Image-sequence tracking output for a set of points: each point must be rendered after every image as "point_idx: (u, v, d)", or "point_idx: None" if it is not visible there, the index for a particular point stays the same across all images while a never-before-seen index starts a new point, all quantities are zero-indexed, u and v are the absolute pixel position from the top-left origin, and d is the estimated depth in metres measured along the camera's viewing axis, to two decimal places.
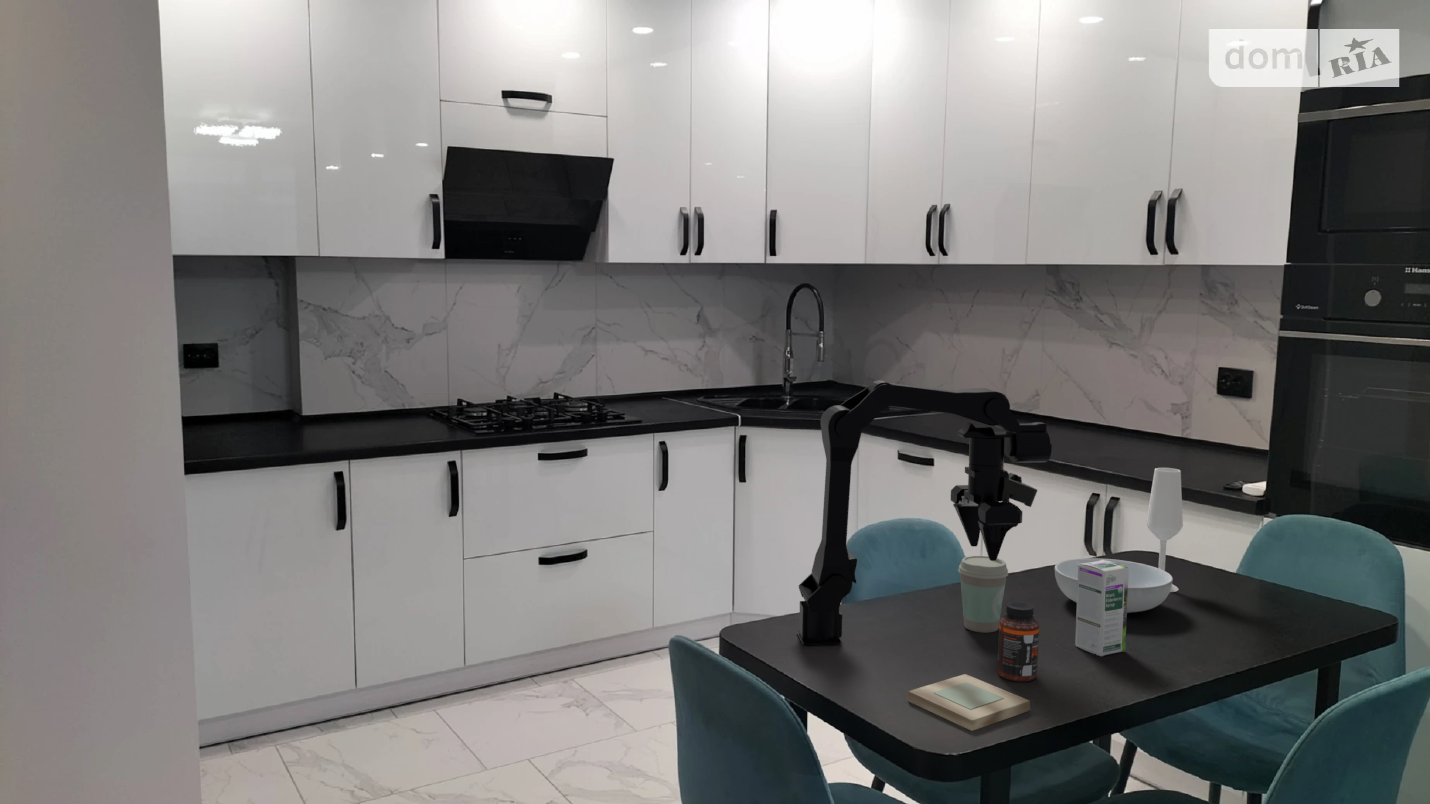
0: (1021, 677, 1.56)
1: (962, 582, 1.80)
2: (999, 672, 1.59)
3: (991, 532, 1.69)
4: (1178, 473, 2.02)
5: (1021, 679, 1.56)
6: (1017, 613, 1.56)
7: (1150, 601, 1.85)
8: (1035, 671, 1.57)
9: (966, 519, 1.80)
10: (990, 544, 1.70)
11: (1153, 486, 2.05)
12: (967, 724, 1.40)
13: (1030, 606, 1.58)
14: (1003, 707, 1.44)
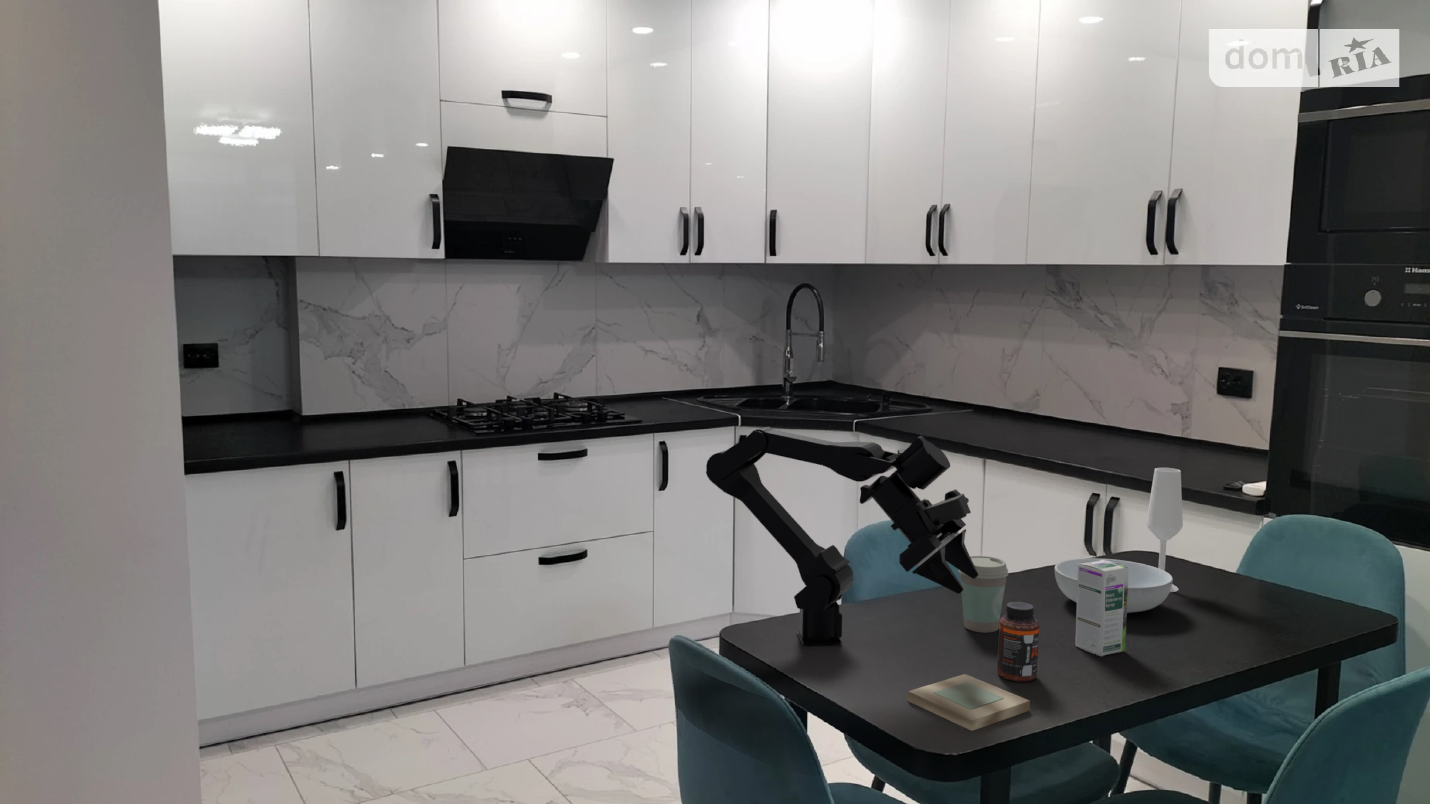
0: (1021, 677, 1.56)
1: (962, 582, 1.80)
2: (999, 672, 1.59)
3: (932, 571, 1.58)
4: (1178, 473, 2.02)
5: (1021, 679, 1.56)
6: (1017, 613, 1.56)
7: (1150, 601, 1.85)
8: (1035, 671, 1.57)
9: (950, 558, 1.68)
10: (942, 581, 1.58)
11: (1153, 486, 2.05)
12: (967, 724, 1.40)
13: (1030, 606, 1.58)
14: (1003, 707, 1.44)
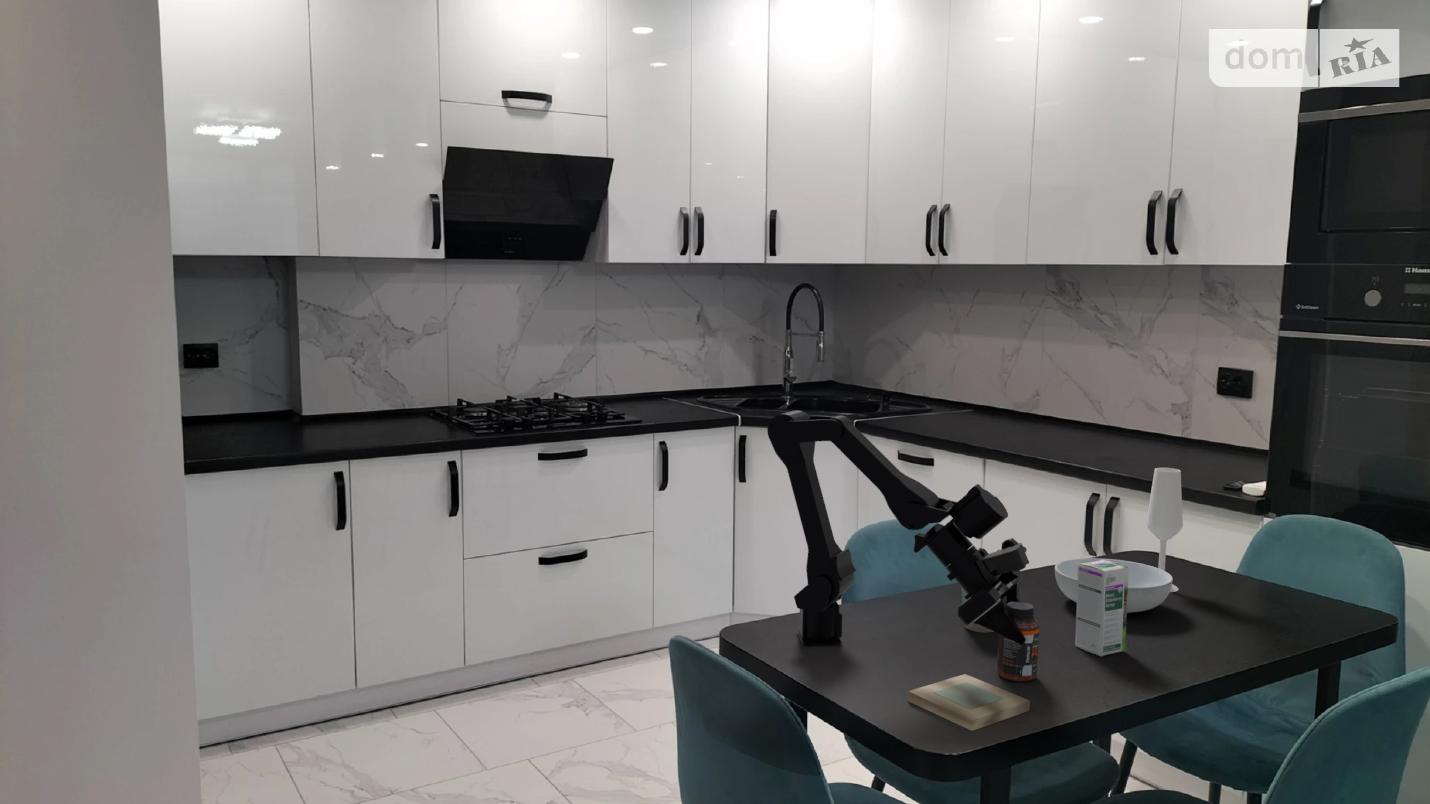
0: (1021, 677, 1.56)
1: None
2: (999, 672, 1.59)
3: (994, 621, 1.56)
4: (1178, 473, 2.02)
5: (1021, 679, 1.56)
6: (1017, 612, 1.56)
7: (1150, 601, 1.85)
8: (1035, 671, 1.57)
9: None
10: (1004, 631, 1.55)
11: (1153, 486, 2.05)
12: (967, 724, 1.40)
13: (1030, 606, 1.58)
14: (1003, 707, 1.44)
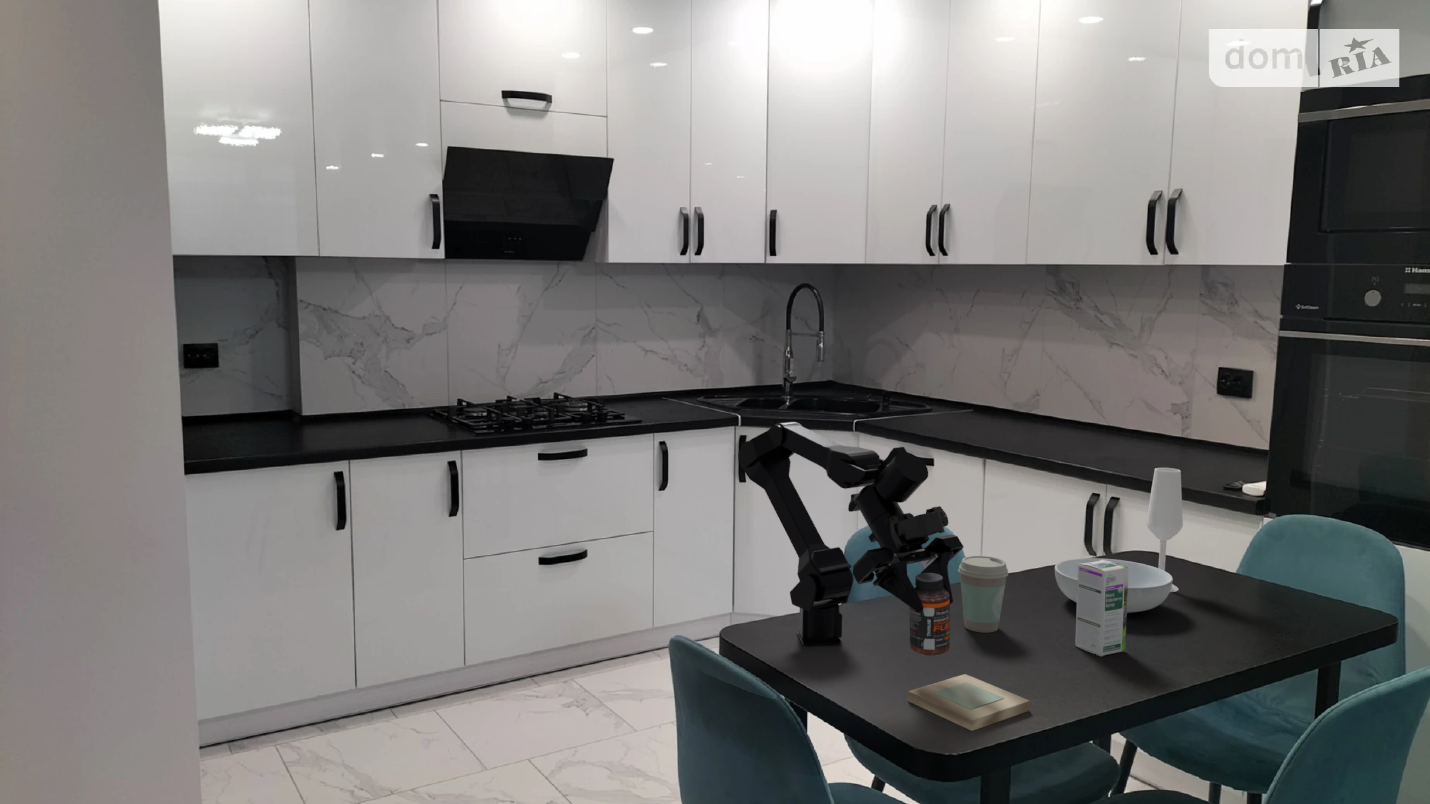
0: (923, 650, 1.51)
1: (962, 582, 1.80)
2: None
3: (894, 585, 1.52)
4: (1178, 473, 2.02)
5: (923, 652, 1.52)
6: (920, 584, 1.51)
7: (1150, 601, 1.85)
8: (941, 646, 1.51)
9: None
10: (902, 597, 1.52)
11: (1153, 486, 2.05)
12: (967, 724, 1.40)
13: (937, 578, 1.51)
14: (1003, 707, 1.44)
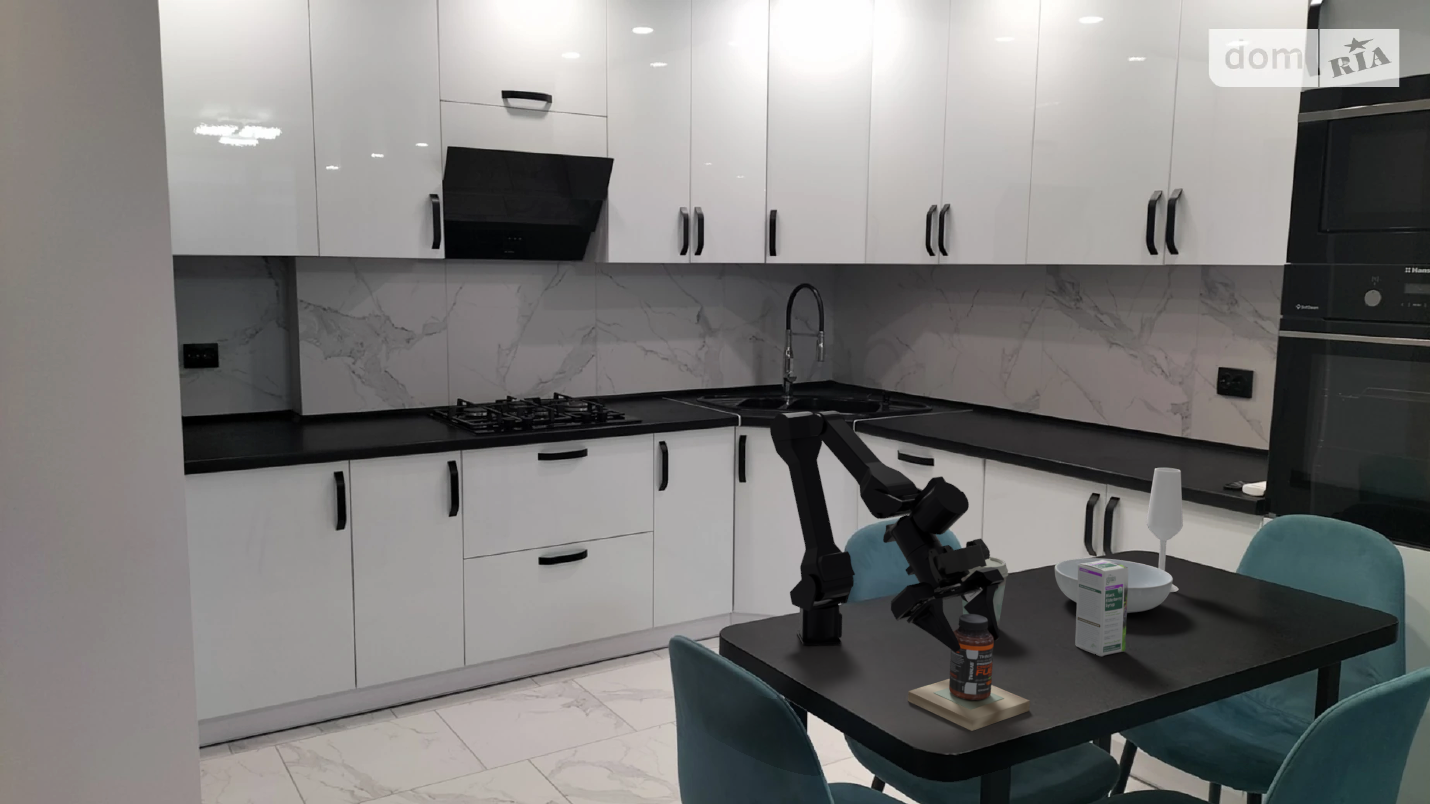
0: (963, 694, 1.46)
1: None
2: None
3: (930, 623, 1.46)
4: (1178, 473, 2.02)
5: (964, 696, 1.46)
6: (964, 625, 1.46)
7: (1150, 601, 1.85)
8: (983, 691, 1.45)
9: (975, 614, 1.51)
10: (938, 636, 1.45)
11: (1153, 486, 2.05)
12: (967, 724, 1.40)
13: (982, 620, 1.46)
14: (1003, 707, 1.44)
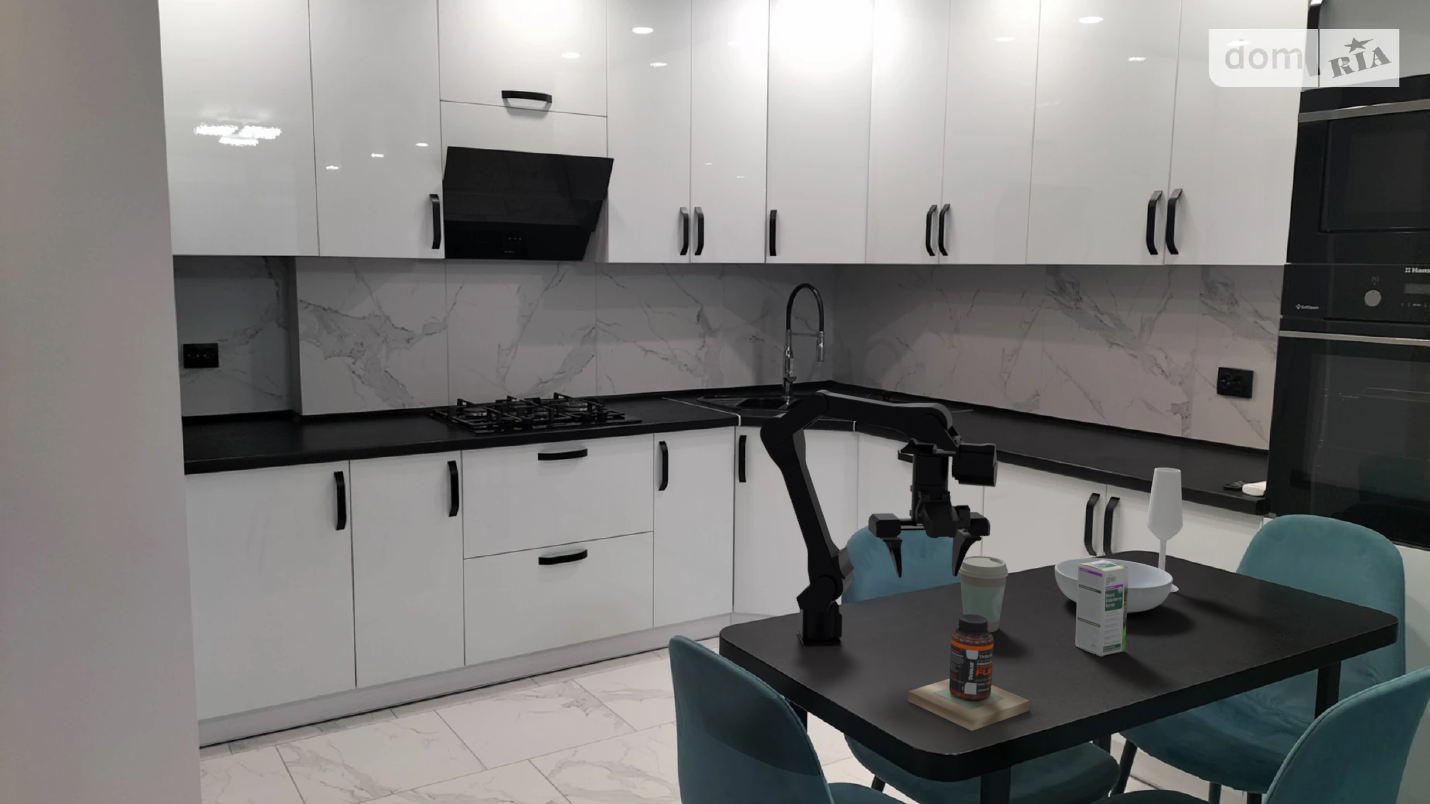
0: (963, 694, 1.46)
1: (962, 582, 1.80)
2: None
3: None
4: (1178, 473, 2.02)
5: (964, 696, 1.46)
6: (964, 625, 1.46)
7: (1150, 601, 1.85)
8: (983, 691, 1.45)
9: (954, 545, 1.68)
10: (892, 557, 1.67)
11: (1153, 486, 2.05)
12: (967, 724, 1.40)
13: (982, 620, 1.46)
14: (1003, 707, 1.44)
